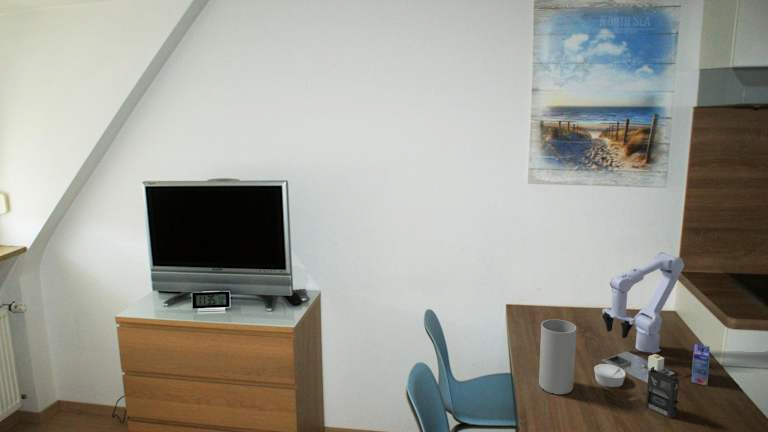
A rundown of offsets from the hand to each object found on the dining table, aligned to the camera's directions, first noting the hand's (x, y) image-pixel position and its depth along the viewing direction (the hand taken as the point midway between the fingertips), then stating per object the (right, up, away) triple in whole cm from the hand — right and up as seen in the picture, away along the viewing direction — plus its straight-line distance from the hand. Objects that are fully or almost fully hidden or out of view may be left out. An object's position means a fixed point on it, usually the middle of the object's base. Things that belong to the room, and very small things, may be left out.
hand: (616, 334), depth 220 cm
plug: (+9, -12, -14) cm, 20 cm away
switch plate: (+4, -12, -9) cm, 16 cm away
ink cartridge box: (+24, -13, -18) cm, 33 cm away
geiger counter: (-2, -18, -39) cm, 43 cm away
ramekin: (-12, -15, -20) cm, 27 cm away
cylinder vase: (-33, -15, -22) cm, 43 cm away
